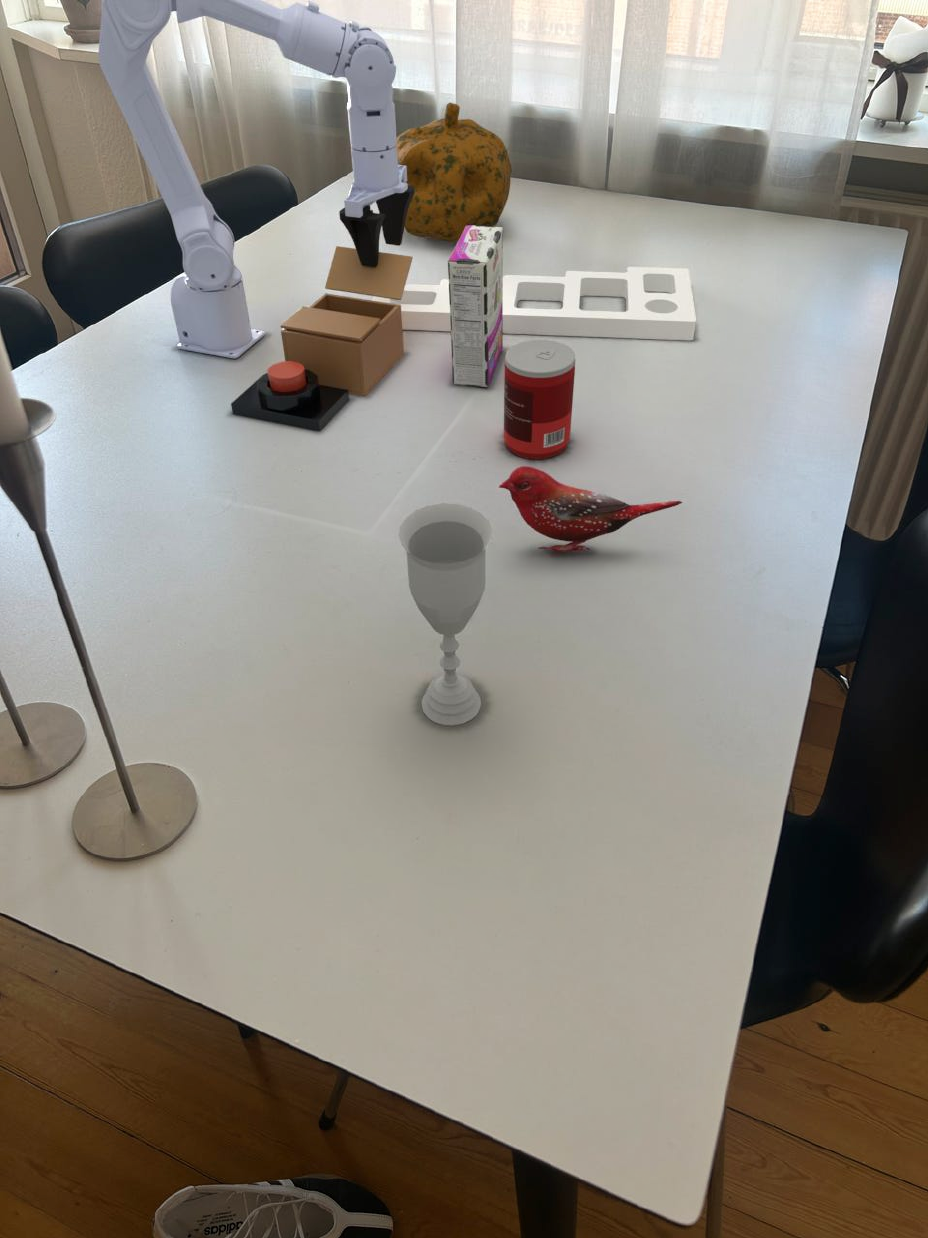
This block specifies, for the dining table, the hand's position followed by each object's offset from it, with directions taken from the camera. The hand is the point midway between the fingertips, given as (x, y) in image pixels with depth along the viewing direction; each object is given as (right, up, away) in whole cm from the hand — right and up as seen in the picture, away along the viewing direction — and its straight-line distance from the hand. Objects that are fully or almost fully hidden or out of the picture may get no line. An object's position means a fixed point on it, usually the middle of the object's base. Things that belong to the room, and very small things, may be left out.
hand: (381, 254), depth 128 cm
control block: (-10, -22, -9) cm, 26 cm away
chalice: (+10, -56, -46) cm, 73 cm away
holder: (+21, -3, +12) cm, 24 cm away
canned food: (+19, -28, -16) cm, 38 cm away
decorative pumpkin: (+8, +17, +35) cm, 39 cm away
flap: (-2, -3, -3) cm, 4 cm away
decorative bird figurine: (+23, -42, -31) cm, 57 cm away
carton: (-4, -16, -2) cm, 16 cm away
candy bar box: (+13, -16, -2) cm, 20 cm away
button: (-10, -20, -11) cm, 25 cm away
